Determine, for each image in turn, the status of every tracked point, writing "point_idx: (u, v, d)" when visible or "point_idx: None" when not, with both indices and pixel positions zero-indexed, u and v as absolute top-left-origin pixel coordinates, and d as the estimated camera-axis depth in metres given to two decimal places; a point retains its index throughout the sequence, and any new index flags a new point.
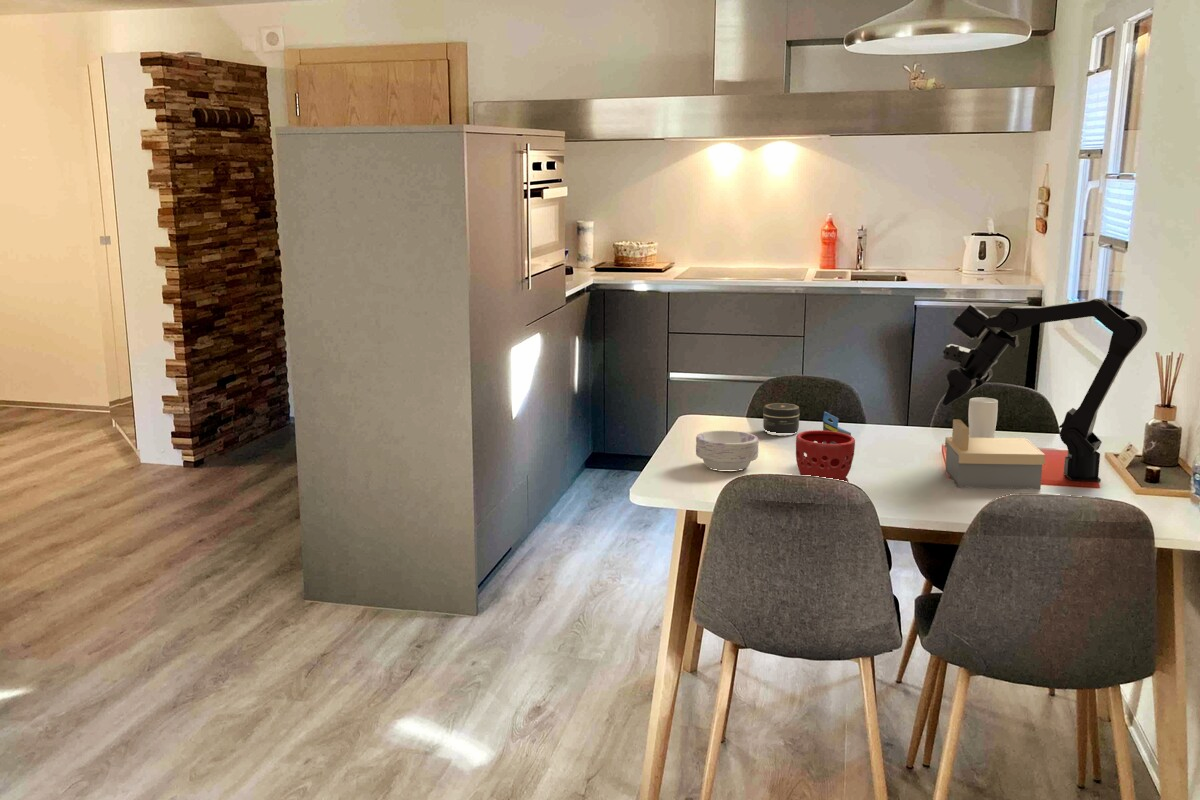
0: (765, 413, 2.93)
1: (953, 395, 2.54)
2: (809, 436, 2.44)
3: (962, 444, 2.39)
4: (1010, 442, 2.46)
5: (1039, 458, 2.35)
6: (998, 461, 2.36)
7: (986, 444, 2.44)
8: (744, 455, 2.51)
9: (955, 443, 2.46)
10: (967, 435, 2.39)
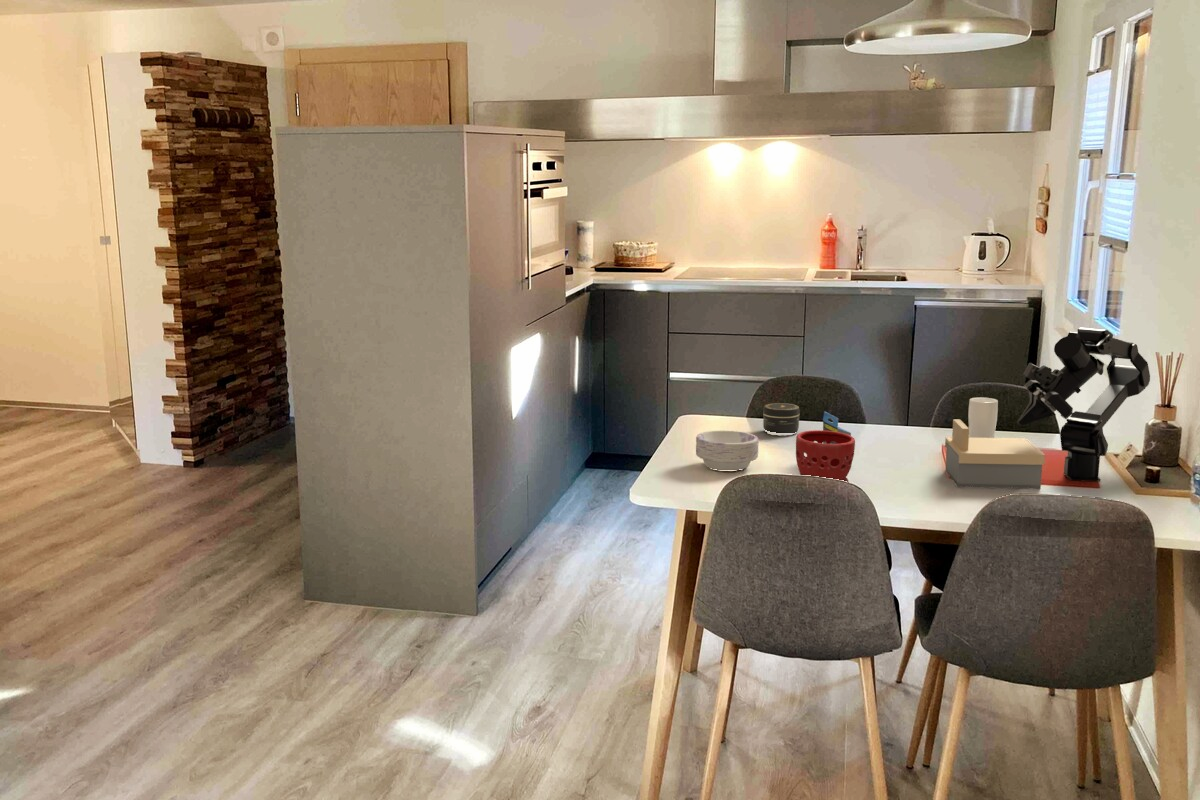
0: (765, 413, 2.93)
1: (1034, 416, 2.40)
2: (809, 436, 2.44)
3: (962, 444, 2.39)
4: (1010, 442, 2.46)
5: (1039, 458, 2.35)
6: (998, 461, 2.36)
7: (986, 444, 2.44)
8: (744, 454, 2.51)
9: (955, 443, 2.46)
10: (967, 435, 2.39)
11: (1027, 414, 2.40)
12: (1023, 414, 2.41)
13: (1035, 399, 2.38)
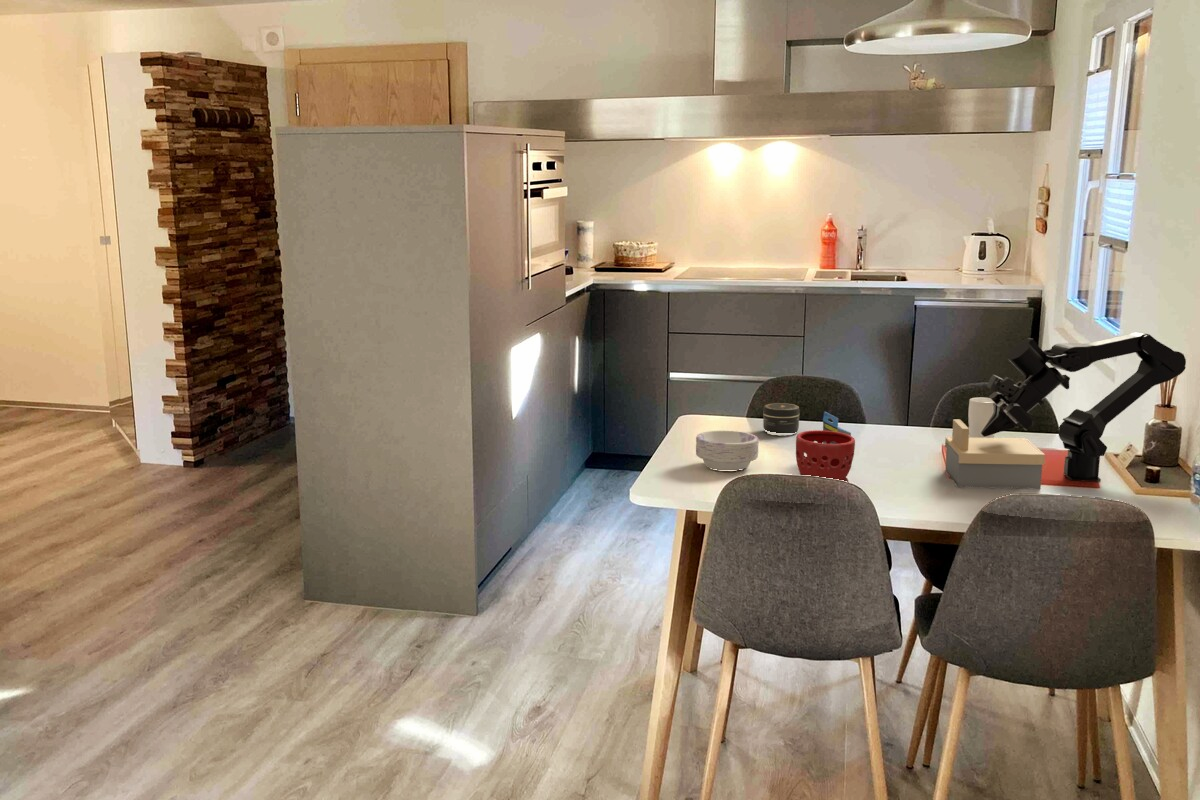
0: (765, 413, 2.93)
1: (998, 427, 2.41)
2: (809, 436, 2.44)
3: (962, 444, 2.39)
4: (1010, 442, 2.46)
5: (1039, 458, 2.35)
6: (998, 461, 2.36)
7: (986, 444, 2.44)
8: (744, 455, 2.51)
9: (955, 443, 2.46)
10: (967, 435, 2.39)
11: (990, 425, 2.41)
12: (987, 425, 2.43)
13: (998, 411, 2.40)
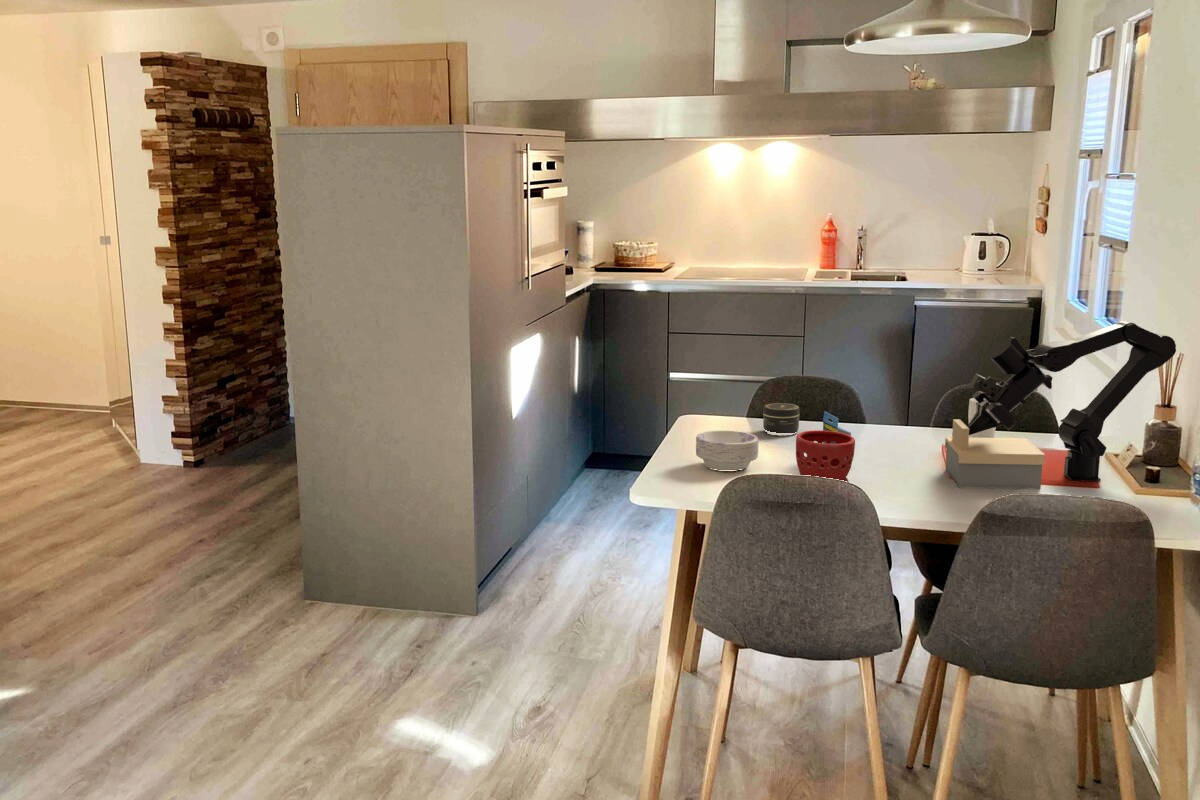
0: (765, 413, 2.93)
1: (980, 426, 2.42)
2: (809, 436, 2.44)
3: (962, 444, 2.39)
4: (1010, 442, 2.46)
5: (1039, 458, 2.35)
6: (998, 461, 2.36)
7: (986, 444, 2.44)
8: (744, 455, 2.51)
9: (955, 443, 2.46)
10: (967, 435, 2.39)
11: (973, 424, 2.42)
12: (969, 424, 2.43)
13: (980, 410, 2.40)
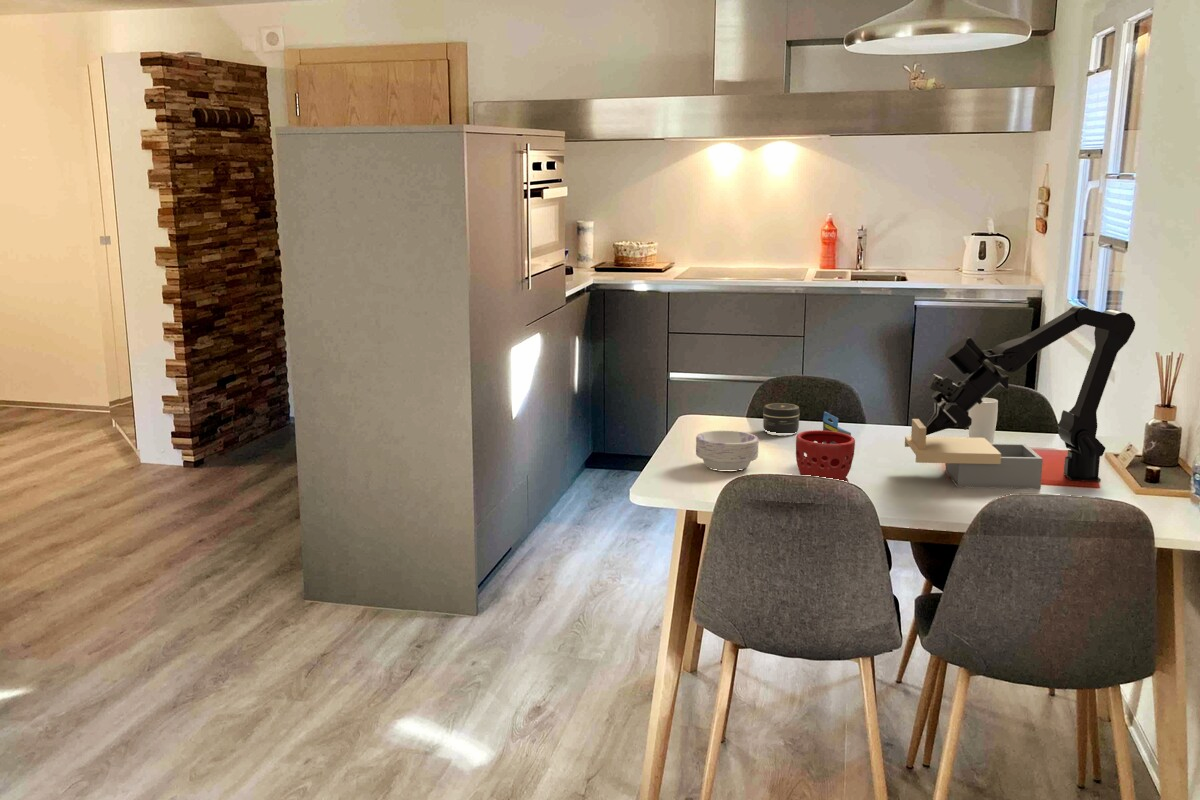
0: (765, 413, 2.93)
1: (938, 426, 2.43)
2: (809, 436, 2.44)
3: (919, 443, 2.40)
4: (968, 441, 2.47)
5: (995, 457, 2.36)
6: (954, 461, 2.37)
7: (944, 443, 2.46)
8: (744, 455, 2.51)
9: (913, 442, 2.47)
10: (924, 434, 2.40)
11: (930, 424, 2.43)
12: (927, 424, 2.44)
13: (938, 410, 2.41)
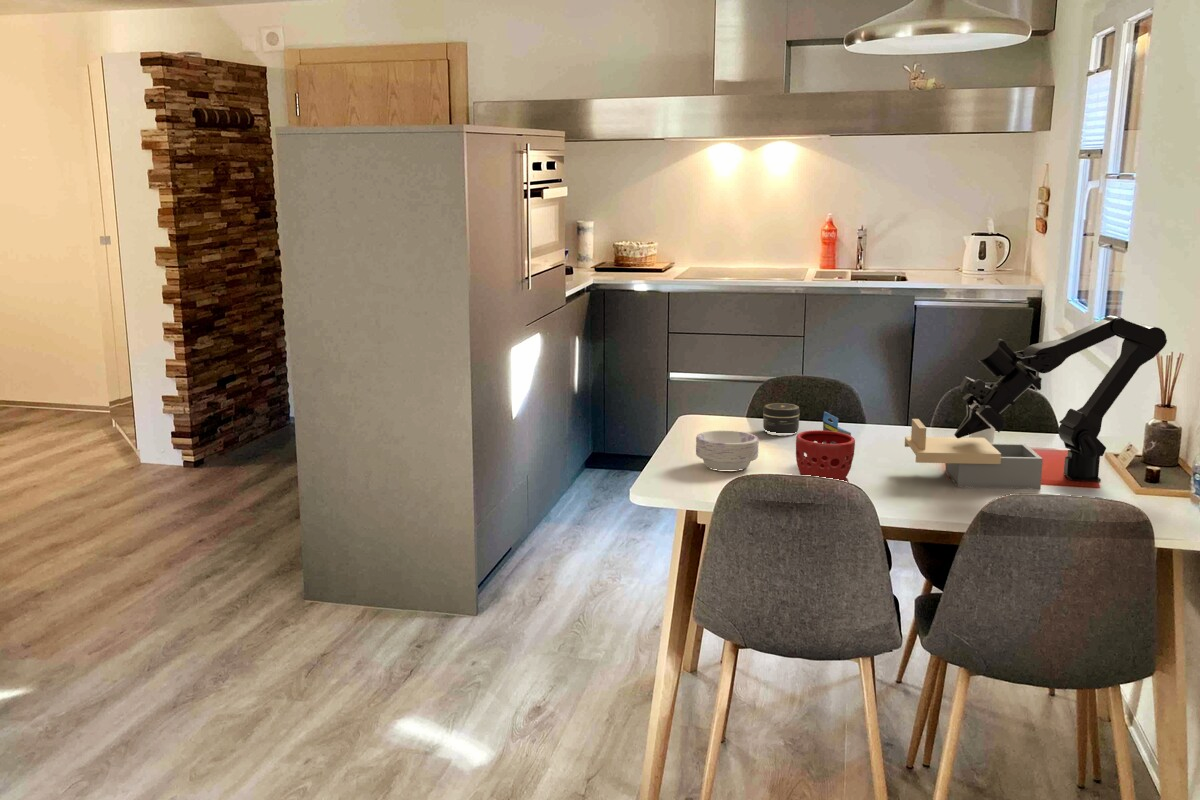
0: (765, 413, 2.93)
1: (970, 429, 2.42)
2: (809, 436, 2.44)
3: (919, 443, 2.40)
4: (968, 441, 2.47)
5: (995, 457, 2.36)
6: (954, 461, 2.37)
7: (944, 443, 2.46)
8: (744, 455, 2.51)
9: (913, 442, 2.47)
10: (924, 434, 2.40)
11: (963, 427, 2.42)
12: (960, 427, 2.44)
13: (970, 412, 2.41)
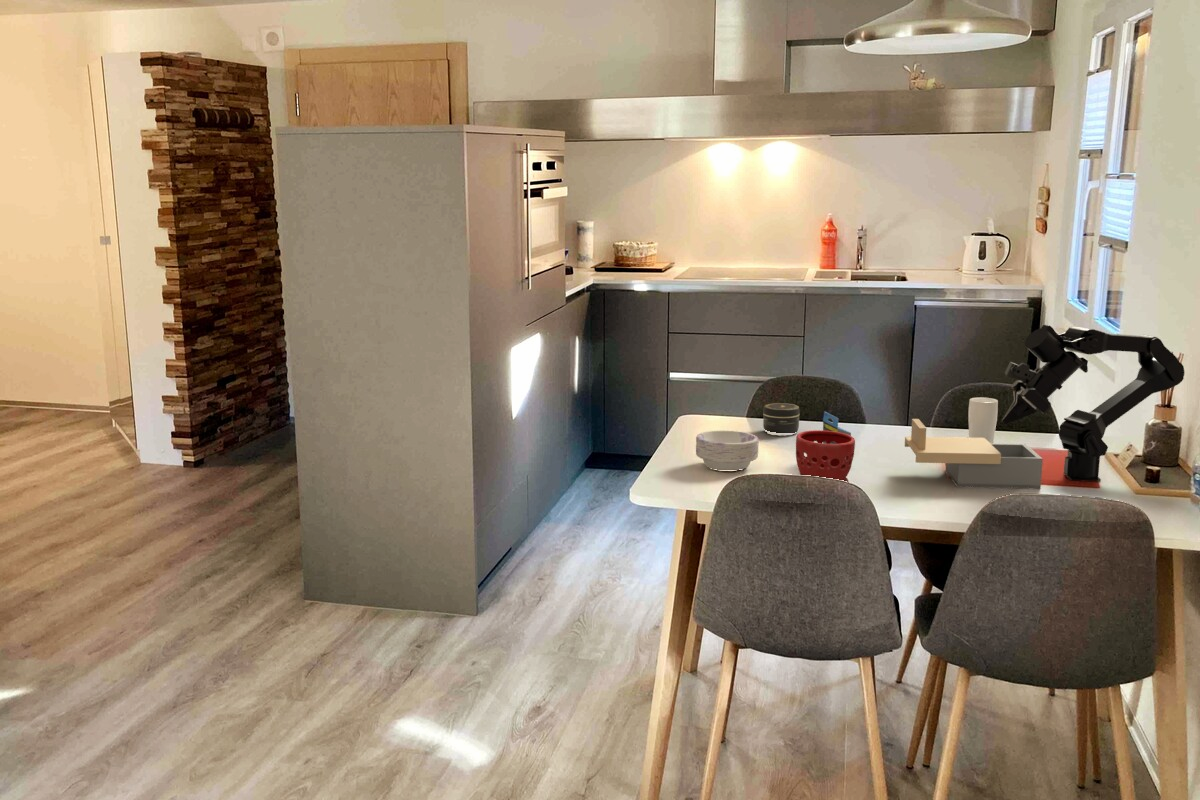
0: (765, 413, 2.93)
1: (1017, 414, 2.41)
2: (809, 436, 2.44)
3: (919, 443, 2.40)
4: (968, 441, 2.47)
5: (995, 457, 2.36)
6: (954, 461, 2.37)
7: (944, 443, 2.46)
8: (744, 454, 2.51)
9: (913, 442, 2.47)
10: (924, 434, 2.40)
11: (1010, 412, 2.41)
12: (1007, 413, 2.42)
13: (1016, 397, 2.40)
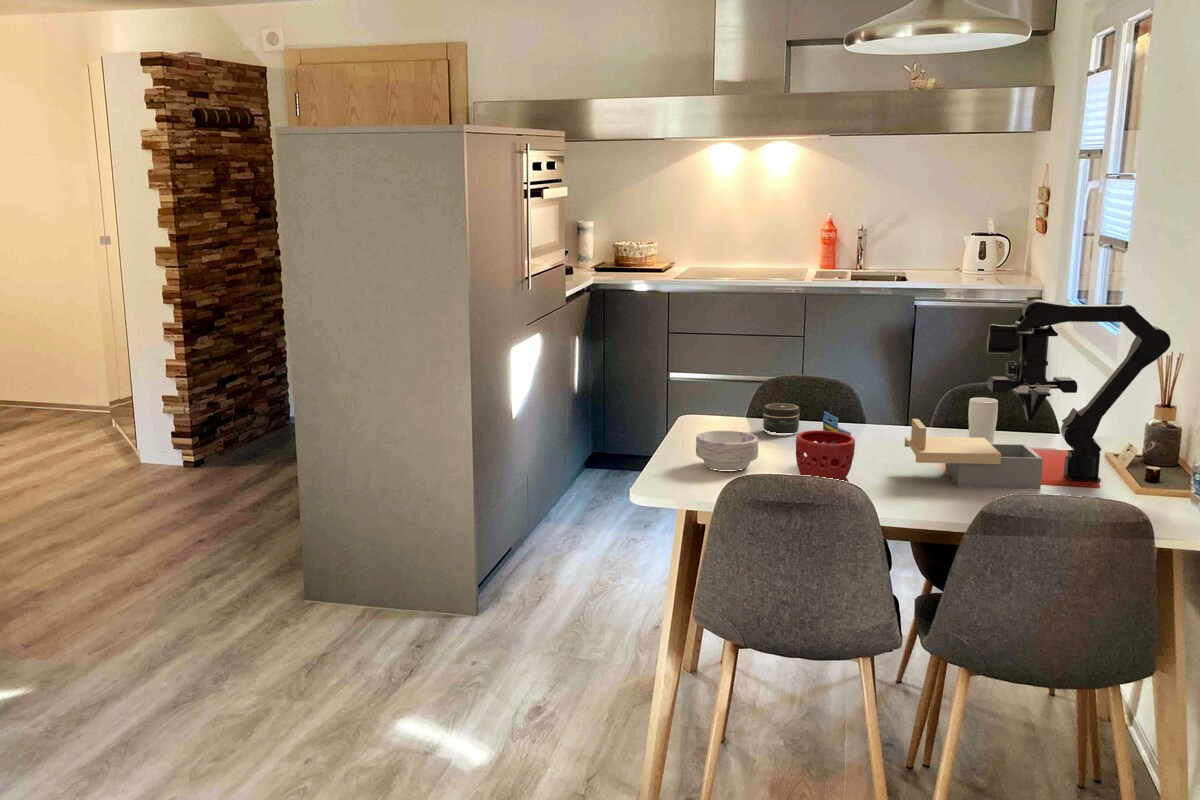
0: (765, 413, 2.93)
1: (1025, 406, 2.45)
2: (809, 436, 2.44)
3: (919, 443, 2.40)
4: (968, 441, 2.47)
5: (995, 457, 2.36)
6: (954, 461, 2.37)
7: (944, 443, 2.46)
8: (744, 455, 2.51)
9: (913, 442, 2.47)
10: (924, 434, 2.40)
11: (1024, 408, 2.47)
12: None
13: None
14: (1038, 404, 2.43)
